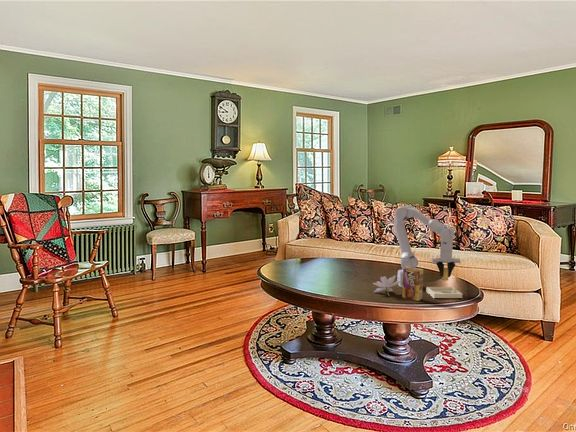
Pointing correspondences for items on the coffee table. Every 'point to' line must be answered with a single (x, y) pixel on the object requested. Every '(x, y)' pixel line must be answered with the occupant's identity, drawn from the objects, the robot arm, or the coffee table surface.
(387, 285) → the water lily
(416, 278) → the candy box
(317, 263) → the coffee table surface
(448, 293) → the bore box
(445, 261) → the robot arm
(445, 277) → the peg
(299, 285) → the coffee table surface
